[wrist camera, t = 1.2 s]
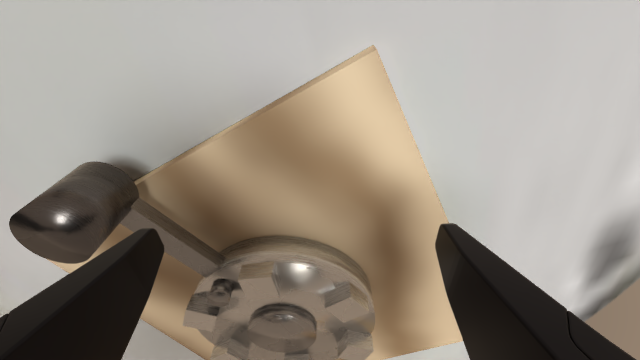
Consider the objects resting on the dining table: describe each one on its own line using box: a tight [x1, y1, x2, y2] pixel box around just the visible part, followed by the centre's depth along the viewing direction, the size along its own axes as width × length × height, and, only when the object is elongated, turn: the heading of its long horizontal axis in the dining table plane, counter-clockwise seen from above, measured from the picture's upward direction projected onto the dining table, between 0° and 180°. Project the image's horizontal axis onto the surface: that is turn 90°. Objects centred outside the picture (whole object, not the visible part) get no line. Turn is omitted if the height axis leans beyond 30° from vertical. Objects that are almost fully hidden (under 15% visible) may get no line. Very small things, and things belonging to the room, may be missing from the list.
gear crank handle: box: [9, 162, 375, 360], centre depth 17 cm, size 20×12×4 cm, turn 39°
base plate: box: [47, 45, 463, 360], centre depth 22 cm, size 30×24×2 cm
